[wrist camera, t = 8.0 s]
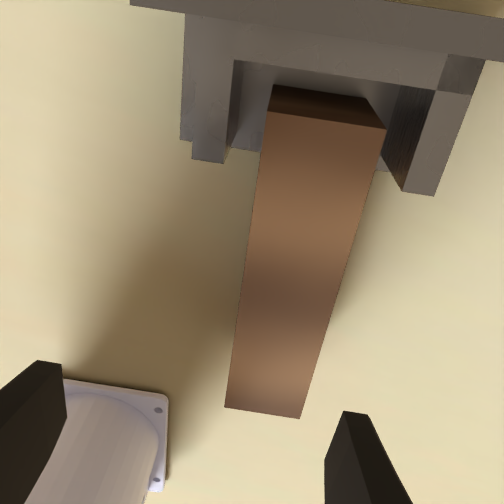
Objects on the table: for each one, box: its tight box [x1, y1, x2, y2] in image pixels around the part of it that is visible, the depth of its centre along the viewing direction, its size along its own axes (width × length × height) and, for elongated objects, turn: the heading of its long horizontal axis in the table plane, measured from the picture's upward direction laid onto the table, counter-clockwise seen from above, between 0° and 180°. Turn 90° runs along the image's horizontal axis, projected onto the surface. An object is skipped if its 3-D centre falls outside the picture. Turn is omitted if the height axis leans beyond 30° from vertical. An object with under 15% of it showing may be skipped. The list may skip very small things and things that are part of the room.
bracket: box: [130, 0, 504, 196], centre depth 13 cm, size 5×10×6 cm, turn 83°
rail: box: [224, 84, 387, 419], centre depth 17 cm, size 13×3×4 cm, turn 173°
